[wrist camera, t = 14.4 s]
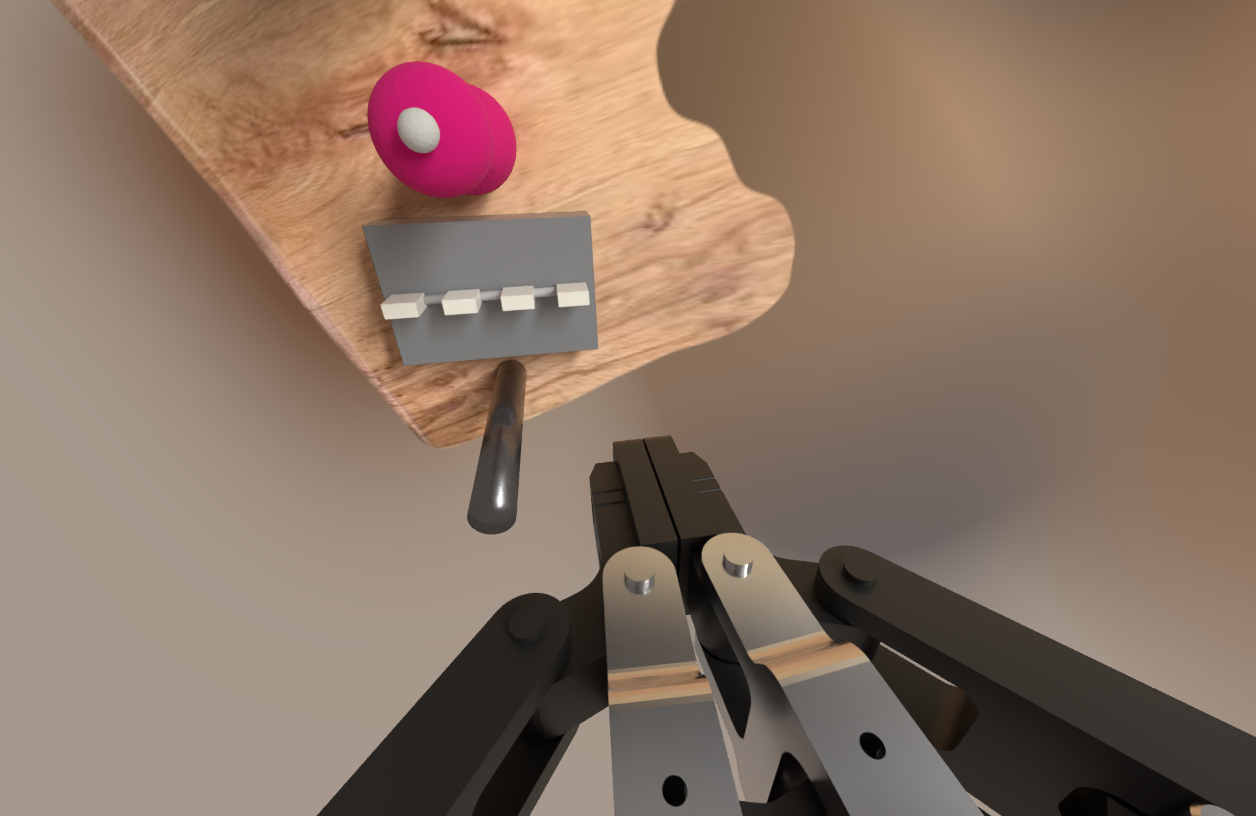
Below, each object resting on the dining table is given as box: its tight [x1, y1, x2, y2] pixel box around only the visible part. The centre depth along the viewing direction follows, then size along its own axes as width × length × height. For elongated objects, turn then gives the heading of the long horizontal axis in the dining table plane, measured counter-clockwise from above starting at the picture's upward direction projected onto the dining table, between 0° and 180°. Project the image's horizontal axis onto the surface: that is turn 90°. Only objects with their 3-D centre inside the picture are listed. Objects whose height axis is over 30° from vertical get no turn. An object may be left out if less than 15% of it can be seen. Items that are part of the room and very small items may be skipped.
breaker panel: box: [362, 211, 598, 366], centre depth 41 cm, size 12×18×4 cm, turn 91°
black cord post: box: [467, 360, 526, 534], centre depth 37 cm, size 3×3×22 cm
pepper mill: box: [368, 61, 516, 198], centre depth 28 cm, size 7×7×20 cm
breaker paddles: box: [381, 282, 590, 319], centre depth 37 cm, size 1×16×3 cm, turn 90°
